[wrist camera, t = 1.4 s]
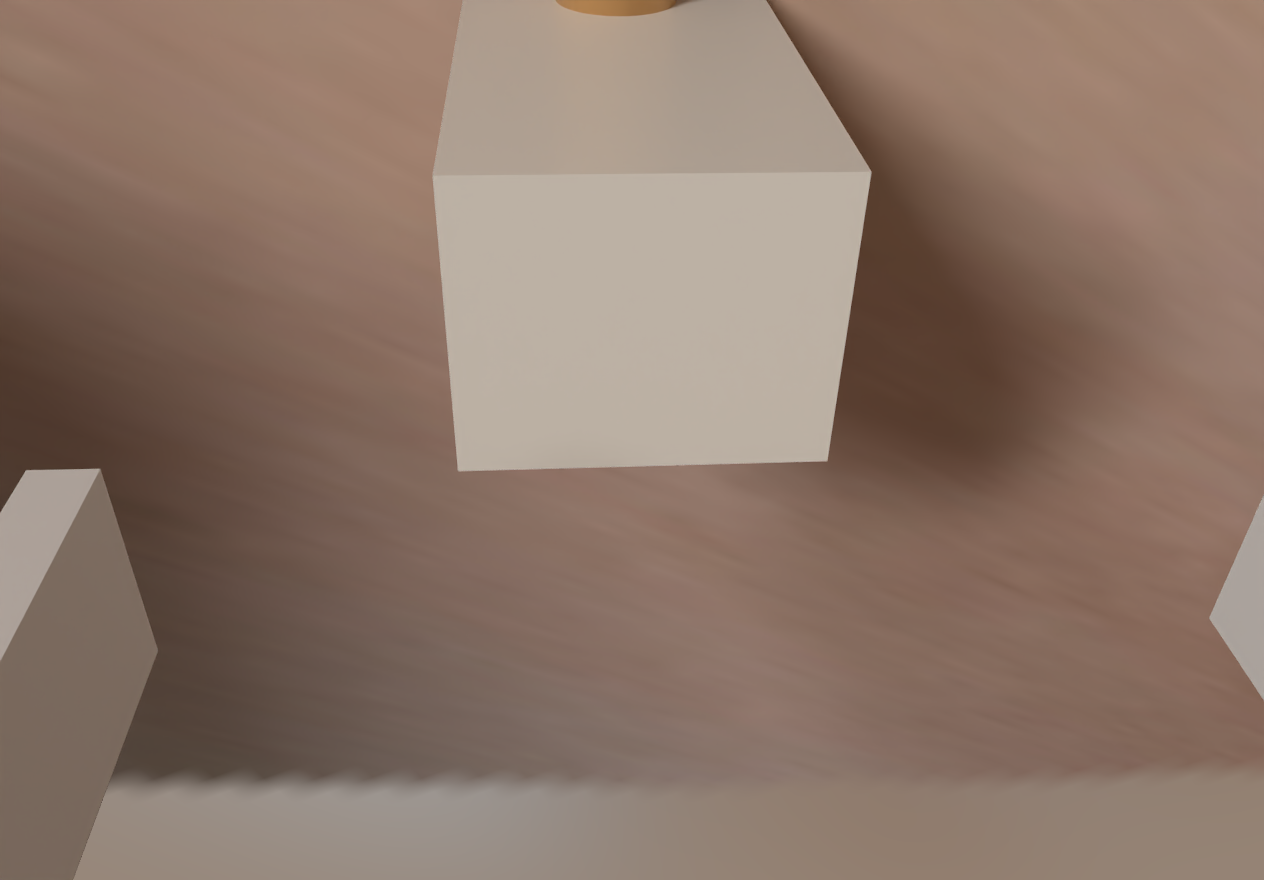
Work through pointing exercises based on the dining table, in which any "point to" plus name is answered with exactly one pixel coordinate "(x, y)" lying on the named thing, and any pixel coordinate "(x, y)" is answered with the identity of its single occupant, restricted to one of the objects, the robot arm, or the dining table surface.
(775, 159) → the white block dumbbell
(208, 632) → the dining table surface
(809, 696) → the dining table surface
